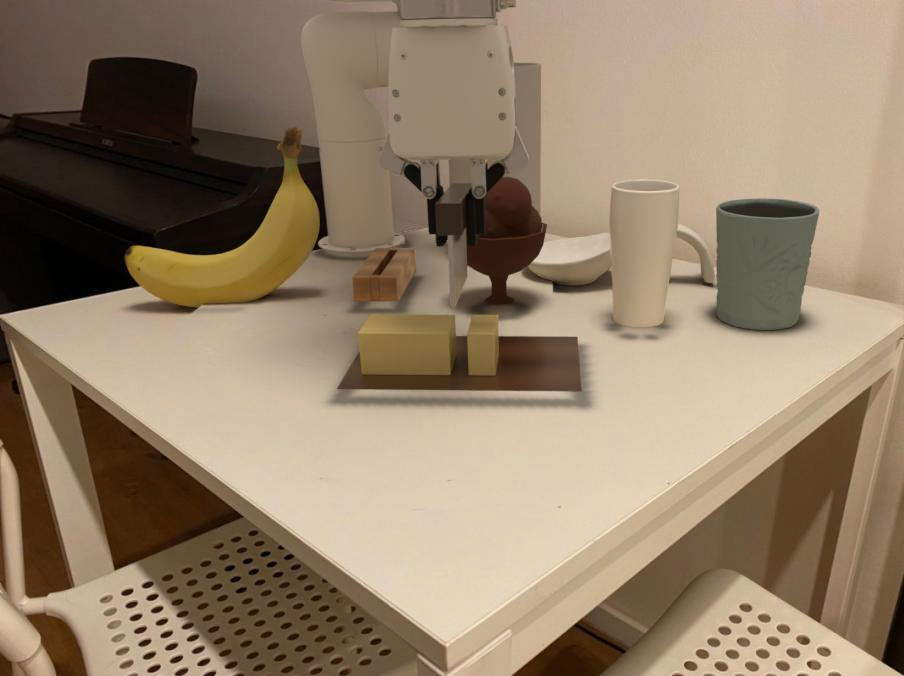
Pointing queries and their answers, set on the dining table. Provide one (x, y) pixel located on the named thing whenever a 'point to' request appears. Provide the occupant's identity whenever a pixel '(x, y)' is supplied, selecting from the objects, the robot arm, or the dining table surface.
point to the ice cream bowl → (507, 237)
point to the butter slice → (483, 345)
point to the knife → (454, 234)
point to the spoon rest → (598, 258)
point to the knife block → (384, 274)
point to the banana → (239, 250)
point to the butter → (407, 344)
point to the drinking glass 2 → (642, 249)
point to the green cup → (763, 261)
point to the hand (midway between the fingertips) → (457, 241)
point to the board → (517, 369)
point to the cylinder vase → (528, 131)
